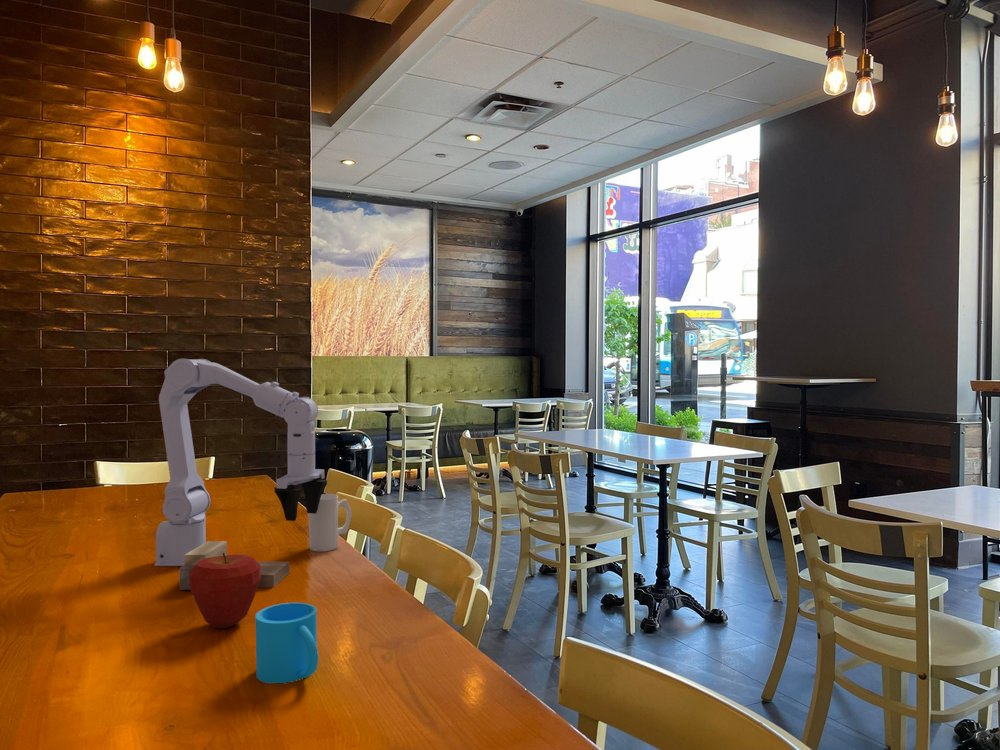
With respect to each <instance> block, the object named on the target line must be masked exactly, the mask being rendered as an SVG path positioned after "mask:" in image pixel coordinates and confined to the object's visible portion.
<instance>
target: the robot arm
mask: <svg viewBox="0 0 1000 750" xmlns="http://www.w3.org/2000/svg"><path fill="white" fill-rule="evenodd" d="M210 385H220V386H223V387H225V388H228V389H231V390H232V391H235V392H238V393H240V394H243V395H245V396H247V397H250V398H251V399H252V400H253V401H252V402H253V403H254V405H255V406H256V407H258V408H260V409H262V410H264V411H267V412H269V413H271V414H274V415H276V416H278V417H279V418H283V419H284V421H285V422H286V423H287V435H286V436H287V474H285V475H282V477H280V478H276V486H275V487H274V493H275V495H276V496H277V498H278V500H279V503H281V508H282V511H283V515H284V518H285V521H287V522H288V521H289V522H295V521H296V520H297V516H298V506H299V500H300V496H301V493H302V491H303V493H304V498H305V510H306V514H309V513H313V514H315V513H317V510H318V506H319V502H320V498H321V495H322V494H324V490H325V489H326V486H327V485H328V480H327V479H325V469H321V468H320V469H319V468H316V431H315V429H316V428H315V427H316V426H315V424H316V423H315V419H317V417H318V414H319V407H318V404H317V403H316V402H315V401H314V400H313V399H311V397H309V396H301V397H299V395H300V393H299V392H296V391H292V392H291V391H289V390H287V389H284V388H282V387H280V383H279V382H276V381H272V382H270V381H266V382H263V383H261V384H260V383H258V382H256V381H254V380H252V379H250V378H248V377H246V376H244V375H242V374H240V373H238V372H236V371H234V370H232V369H230V368H228V367H226V366H224V365H222V364H220V363H218V362H211V361H210V360H208V359H205V358H198V359H195V358H193V359H188V358H178V359H176V360H174V361H172V363H171V364H170V365H169V366H167V368H166V369H165V370H164V380H163V384H162V387H161V389H160V393H159V395H158V403H159V404H158V405H159V410H160V417H161V423H162V431H163V438H164V445H165V452H166V459H167V465H168V466H167V467H168V472H169V481H168V482H167V484H166V487H165V489H164V501H163V504H162V513H163V515H164V517H165V519H167V520H165V521H164V520H163V521H162V522H160V523H159V525H158V526H157V529H156V533H155V561H156V562H155V563H154V567H183V566H184V565H185V561H184V555H185V554H187V553H189V552H190V551H192V550H194V549H195V548H197V547H199V546H200V545H202V544H204V543H206V542H207V541H206V535H207V533H206V530H207V529H206V528H207V527H206V524H207V523H206V512H207V511H208V509H209V508H210V505H211V495H210V494H209V492H208V490H207V489H206V487H205V481H204V479H203V478H202V477H201V476H200V475H199V474H198V470H197V464H196V463H197V462H196V458H195V449H194V444H193V443H194V442H193V436H192V428H191V423H190V422H191V421H190V415H189V407H188V403H189V402H190V401H191V400H192V399H193V397H194V396H195V395H196V394H198V392H201V391H202V390H203V389H206V388H207V387H209V386H210ZM300 484H301V487H302V488H297V487H295V486H296V485H300Z"/></svg>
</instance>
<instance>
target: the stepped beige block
mask: <svg viewBox="0 0 1000 750" xmlns="http://www.w3.org/2000/svg"><path fill="white" fill-rule="evenodd" d="M223 553H224V554H225V555H228V540H226V541H225V540H219V541H217V540H216V541H215V540H214V541H213V540H212V541H211V540H208V541H206V543H204V544H202V545H200V546H199V547H197V548H195V549H194V550H192V551H190V552H189V553H187V554H185V555H184V561H185V565H184V566H180V568H179V590H182V591H183V590H184V591H185V590H190V591H191V589H190V587H189V573H190V571H191V570H192V569H193V567H194V566H195V565H196V564H197V563H198V562H199V561H201V560H202V559H204V558H210V557H216V556H223Z"/></svg>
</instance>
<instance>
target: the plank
mask: <svg viewBox="0 0 1000 750" xmlns="http://www.w3.org/2000/svg"><path fill="white" fill-rule="evenodd" d="M257 562H258V563H259V564H260V568H261V578H260V581H259V584H258V587H257V588H275V587H276V586H277V585H278V584H279V583H280V582H282V580H284V579H285V578H286V577H287V576H288V575H289V574H290V561H257Z"/></svg>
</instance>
